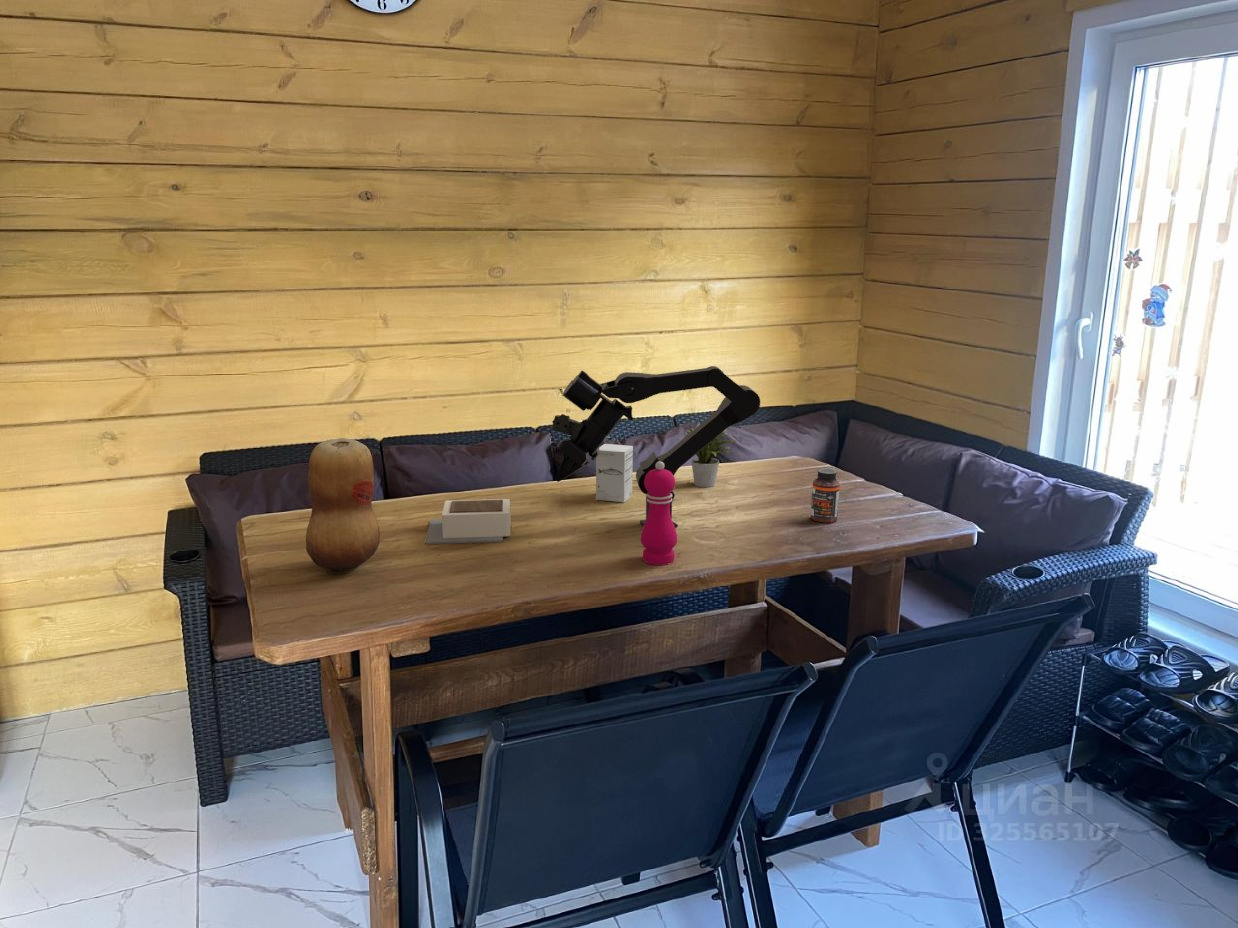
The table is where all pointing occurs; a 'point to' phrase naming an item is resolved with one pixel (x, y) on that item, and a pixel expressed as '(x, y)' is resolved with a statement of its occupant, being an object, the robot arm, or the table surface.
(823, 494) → the supplement bottle
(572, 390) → the robot arm
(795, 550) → the table surface
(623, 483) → the supplement box
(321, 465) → the butternut squash
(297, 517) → the table surface
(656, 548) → the pepper mill
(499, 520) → the picture frame
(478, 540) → the mat
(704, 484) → the house plant
